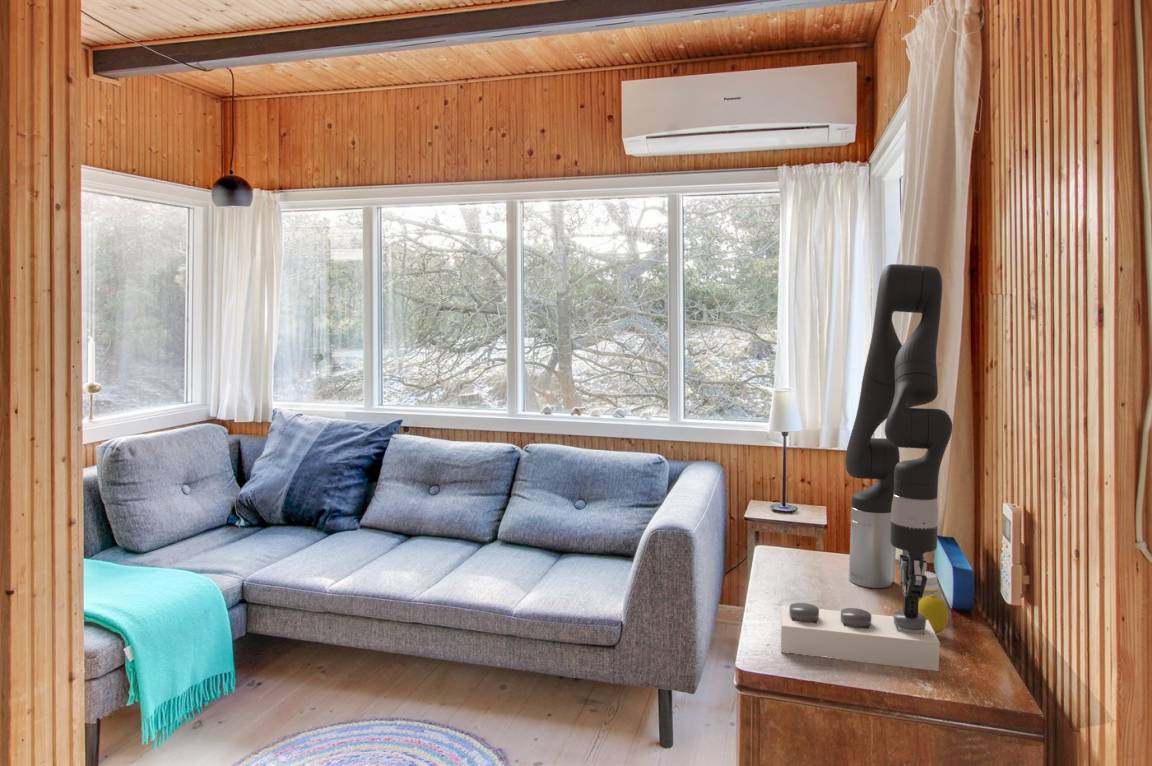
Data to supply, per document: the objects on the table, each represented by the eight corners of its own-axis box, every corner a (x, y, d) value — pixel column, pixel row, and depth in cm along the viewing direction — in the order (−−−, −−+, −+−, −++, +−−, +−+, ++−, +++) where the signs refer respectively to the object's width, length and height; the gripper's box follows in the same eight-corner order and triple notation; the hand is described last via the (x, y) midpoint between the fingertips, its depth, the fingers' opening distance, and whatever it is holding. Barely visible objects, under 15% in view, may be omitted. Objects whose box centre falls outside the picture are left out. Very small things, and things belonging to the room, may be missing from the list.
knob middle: (841, 647, 131) (842, 617, 131) (838, 635, 136) (839, 606, 136) (872, 650, 130) (873, 620, 129) (868, 638, 135) (869, 609, 134)
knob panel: (780, 652, 132) (781, 625, 131) (780, 630, 141) (781, 605, 141) (938, 671, 125) (939, 642, 125) (926, 646, 135) (928, 619, 134)
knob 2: (895, 650, 129) (896, 620, 128) (890, 638, 134) (891, 608, 133) (927, 653, 127) (928, 623, 127) (921, 641, 132) (922, 611, 132)
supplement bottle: (915, 607, 153) (917, 568, 152) (940, 613, 150) (942, 573, 149) (909, 614, 149) (910, 574, 148) (934, 620, 146) (936, 579, 145)
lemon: (929, 643, 136) (931, 601, 135) (908, 631, 141) (910, 590, 140) (954, 640, 137) (956, 598, 137) (932, 628, 143) (934, 588, 142)
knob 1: (788, 641, 134) (789, 612, 133) (788, 629, 139) (789, 601, 138) (818, 644, 132) (819, 615, 132) (817, 632, 137) (818, 604, 137)
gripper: (946, 532, 121) (941, 633, 123) (929, 513, 134) (925, 604, 135) (897, 529, 123) (893, 628, 125) (885, 510, 136) (882, 600, 137)
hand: (910, 616), depth 130 cm, fingers closed
